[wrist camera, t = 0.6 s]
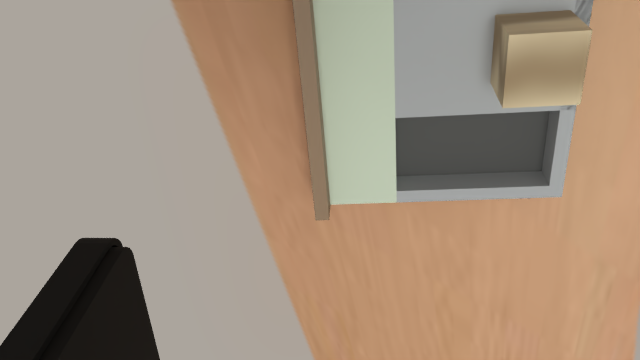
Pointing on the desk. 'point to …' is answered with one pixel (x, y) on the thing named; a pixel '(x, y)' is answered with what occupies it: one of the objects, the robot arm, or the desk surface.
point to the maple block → (539, 58)
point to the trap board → (421, 104)
